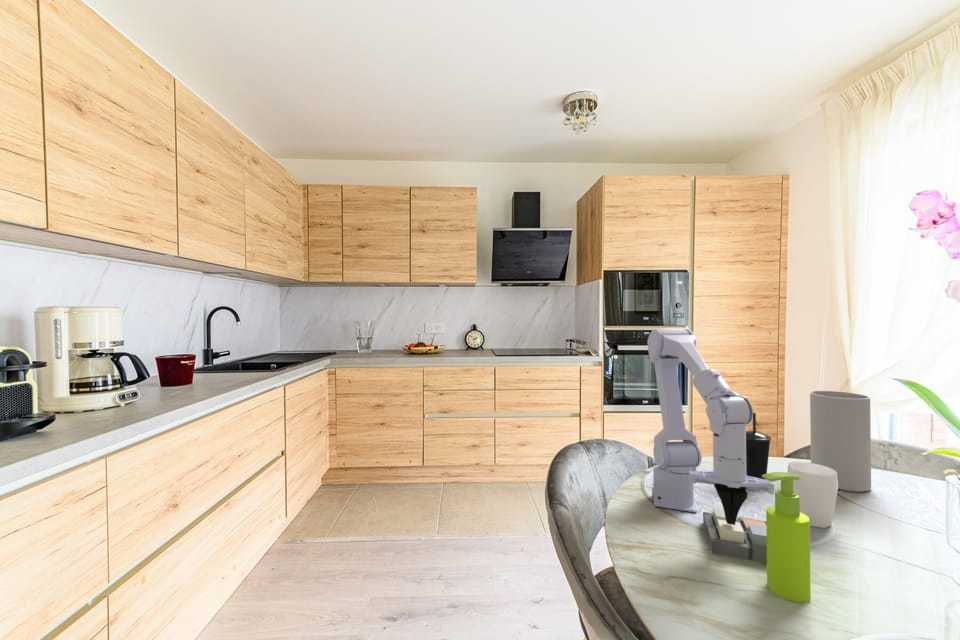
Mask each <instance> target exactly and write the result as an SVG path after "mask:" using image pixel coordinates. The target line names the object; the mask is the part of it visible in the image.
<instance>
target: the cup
mask: <svg viewBox="0 0 960 640" xmlns="http://www.w3.org/2000/svg"><path fill="white" fill-rule="evenodd" d="M787 472H789V473H792V474H794V475H796V476H799V480H793V492H795V493H796V494H798V495H799V496H800V512H801V513H803V514H805V515H806V516H808V517H809V519H810V526H811V527H815V528H829V527H831V526H832V523H833V520H834V514H835V506H836V502H837V496H838V480H837V472H836V471H835V470H833V469H831V468H829V467H826V466H822V465H818V464H814V463H811V462H808V461H807V462H806V461H791V462H789V463H787Z"/></svg>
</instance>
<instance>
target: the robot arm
mask: <svg viewBox="0 0 960 640" xmlns="http://www.w3.org/2000/svg"><path fill="white" fill-rule="evenodd" d="M646 345H647V349H648V356H649V362H650V363H652V364H653V365H654V370H655V378H656V385H657V391H658V399H659V407H660V413H661V420H662V427H663V428H662V429H661V430H660V431H659V432H658V433H657V434H655V435H654V437H653V450H652V451H653V459H654V461H655V462H656V464H657V465H653V466H652V470H653V472H652V473H653V474H652V476H653V479H652V480H653V483H652V485H653V486H652V489H651V493H652V495H653V506H654V507H659V508H664V509H665V508H666V509H670V510H678V511H682V512H689V513H698V509H697V506H696V505H697V504H696V501H695V498H694V496H695V495H694V484H697V483H699V484H703V485H704V484H706V485H713V486H714V489H715V491H716V493H717V496H718V497H719V499H720V501H721V504H722V509H724V513H725V519H726V522H727V524H732V525H735V523H736V518H737V517H738V514H739V512H740V510H741V507H742V506H743V504H744V503H745V502H746V500H747V498H748V492H747V490H752V491H758V492H759V491H760V492H766V493H768V494H773V495H775V484H774V482H771V481H769V480H767V479H766V480H765V479H760V478H755V477H750V476H746V431H747V425H749V424H750V423H751V422H753V413H754V409H753V406H752V404H751V402H750V400H749V399H748V397H746V396H744V395H741V394H739V393H738V392H735V391H733V389H731V387H730V386H729V384H727V382H726V380H725V379H724V378H723V376H722V375H721V374H720V372H719V371H718V370H716V369H714V368H713V369H712V368H709V367H708V365H707V363H706V362H705V360H704V359H703V357H702V355H701V354H700V352H699V350H698V349H697V338H696V335H694V333H693V331H692V330H691V329H689V328H685V329H657V328H655V329H652V330H651V332H650V333H649V335H648V338H647V344H646ZM680 363H683V365H684V366H685V367H686V369H687V370H688V371H689V372H690V373H691V375H693V379H692V385H693V387H694V388H695V389H696V391H697V392H698V394H699V395H700V397H701V398H702V400H703V401H704V402H705V404H706V407H705V413H706V415H707V418H708V421H709V422H708V423H709V429H710V431H711V432H712V449H713V450H712V456H713V457H712V461H713V462H712V463H713V464H712V465H713V468H712V469H713V471H709V470H703V471H702V470H698V471H697V468H698V467H700V465H701V463H702V459H703V458H702V457H703V455H702V451H701V448H700V447H699V445H698V441H697V436H696V435H694V434H693V433H692V432H690V431H689V430H687V428H686V425H685V418H684V417H685V416H684V412H683V411H684V410H683V405H682V403H683V402H682V397H681V392H680V385H679V378H678V371H677V367H678V365H679V364H680ZM652 495H651V496H652Z"/></svg>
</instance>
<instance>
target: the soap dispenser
mask: <svg viewBox="0 0 960 640" xmlns="http://www.w3.org/2000/svg"><path fill="white" fill-rule="evenodd" d="M762 477H763V478H765V479H766V480H769V481H771V482H773V483H774V482H778V481H780V488H779V489H777V490H774V506H769V507H767V508H766V511H765V512H766V513H765V514H766V515H765V516H766V520H765V521H766V524H767V564H766V586H767V587H768V588H769V590H770V591H771V592H773V594H775V595H776V596H778V597H780V598H783V599H784V598H785V600H787V601H790V600H791V602H794V601H795V602H794V603H807V602H806V601H808V602H809V601H810V600H811V593H812V592H811V527H810V526H811V525H810V519H809V517H808V516H806V515H805V514H803V513H801V512H800V496H799V495H798V494H796V493H795V492H793V480H799V476H796V475H794V474H792V473H789V472H788V471H784V472H783V471H774V472H767V474H764V475H762Z"/></svg>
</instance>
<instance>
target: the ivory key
mask: <svg viewBox="0 0 960 640" xmlns="http://www.w3.org/2000/svg"><path fill="white" fill-rule="evenodd" d="M717 532H718V534H719V537H720V539H721V540H727V541H733V542H739V543H744V531H743V529H742V527H741V525H740V523H738V522H736V523H735V525H732V524H727V522H726V521H725V520H719V519H717Z"/></svg>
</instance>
